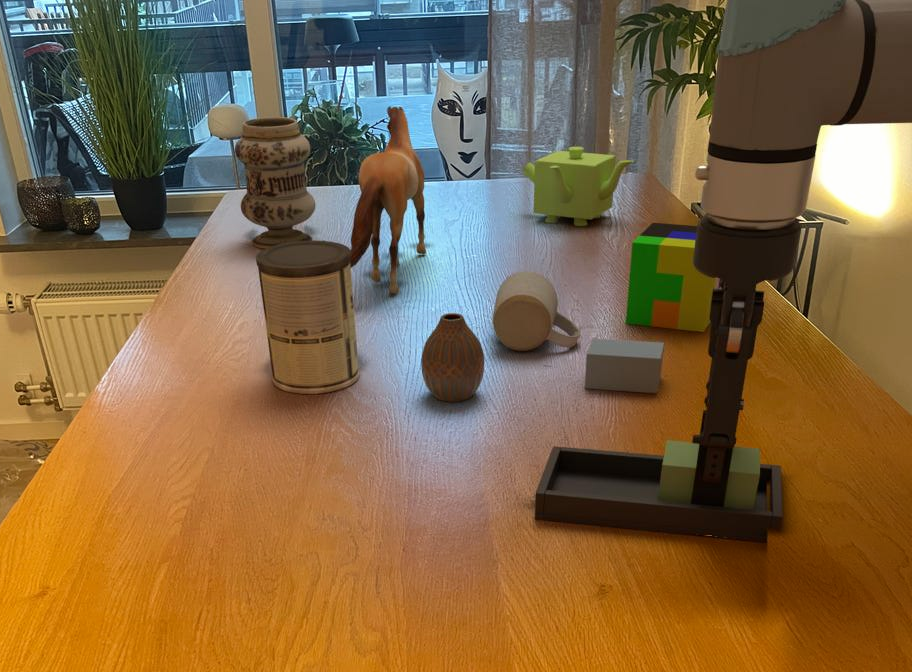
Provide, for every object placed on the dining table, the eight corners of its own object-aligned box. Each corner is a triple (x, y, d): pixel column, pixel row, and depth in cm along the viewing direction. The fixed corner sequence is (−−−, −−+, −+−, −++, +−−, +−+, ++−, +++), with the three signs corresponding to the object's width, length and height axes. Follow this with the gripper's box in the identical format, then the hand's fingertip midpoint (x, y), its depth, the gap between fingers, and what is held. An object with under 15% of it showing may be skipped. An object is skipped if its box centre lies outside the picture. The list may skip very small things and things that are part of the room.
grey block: (660, 376, 114) (664, 342, 112) (657, 393, 110) (660, 358, 108) (590, 372, 116) (592, 338, 114) (584, 388, 112) (586, 353, 110)
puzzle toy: (719, 307, 133) (730, 228, 127) (703, 332, 125) (714, 249, 120) (645, 300, 136) (652, 222, 130) (625, 323, 129) (632, 242, 123)
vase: (493, 387, 113) (494, 310, 108) (470, 411, 108) (469, 330, 103) (437, 379, 115) (435, 303, 110) (412, 402, 110) (408, 323, 105)
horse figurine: (396, 246, 162) (389, 102, 150) (443, 247, 160) (439, 102, 148) (337, 307, 137) (323, 142, 125) (392, 310, 136) (383, 143, 124)
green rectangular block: (752, 489, 90) (760, 448, 87) (751, 516, 86) (760, 474, 83) (661, 480, 91) (666, 439, 89) (656, 506, 87) (662, 464, 85)
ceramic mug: (490, 353, 121) (492, 289, 117) (495, 330, 128) (497, 269, 123) (578, 357, 120) (583, 292, 116) (579, 333, 127) (584, 271, 122)
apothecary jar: (300, 254, 159) (287, 129, 149) (232, 250, 162) (215, 126, 152) (330, 234, 168) (320, 115, 158) (265, 230, 172) (251, 113, 161)
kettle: (629, 225, 168) (635, 151, 161) (550, 234, 165) (553, 160, 158) (593, 205, 180) (598, 135, 173) (519, 213, 177) (520, 143, 170)
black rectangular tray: (775, 491, 92) (781, 465, 90) (777, 544, 84) (782, 516, 83) (552, 470, 96) (553, 445, 95) (534, 519, 89) (535, 493, 87)
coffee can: (259, 372, 119) (242, 249, 111) (339, 355, 123) (329, 235, 114) (290, 401, 111) (274, 272, 103) (374, 383, 115) (366, 256, 107)
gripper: (703, 187, 82) (671, 447, 96) (692, 246, 68) (656, 541, 82) (799, 190, 81) (752, 454, 94) (807, 251, 67) (751, 552, 80)
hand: (707, 494), depth 88 cm, fingers closed on green rectangular block, 5 cm apart
